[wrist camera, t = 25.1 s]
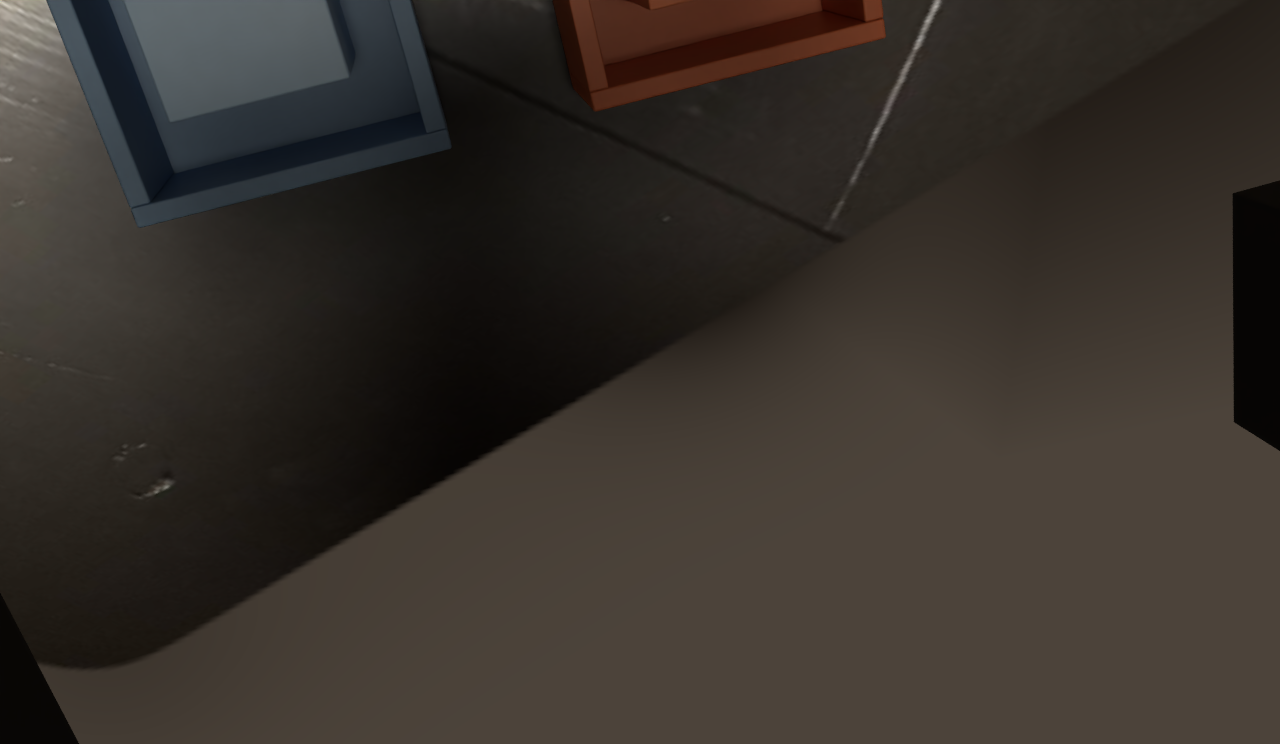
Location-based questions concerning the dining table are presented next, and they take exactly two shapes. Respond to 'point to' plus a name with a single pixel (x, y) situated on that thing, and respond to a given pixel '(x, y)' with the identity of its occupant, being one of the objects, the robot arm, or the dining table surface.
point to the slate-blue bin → (254, 114)
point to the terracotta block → (658, 3)
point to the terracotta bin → (699, 41)
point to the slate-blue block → (239, 50)
